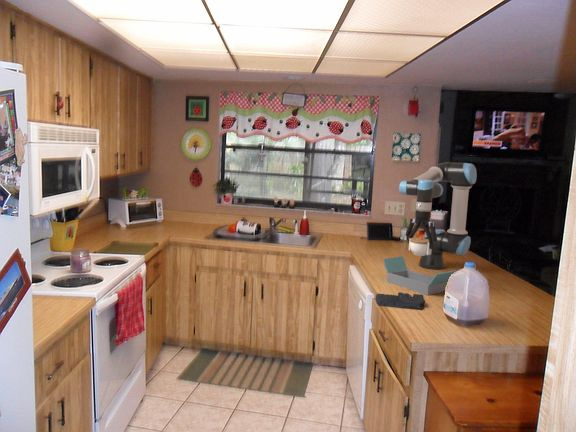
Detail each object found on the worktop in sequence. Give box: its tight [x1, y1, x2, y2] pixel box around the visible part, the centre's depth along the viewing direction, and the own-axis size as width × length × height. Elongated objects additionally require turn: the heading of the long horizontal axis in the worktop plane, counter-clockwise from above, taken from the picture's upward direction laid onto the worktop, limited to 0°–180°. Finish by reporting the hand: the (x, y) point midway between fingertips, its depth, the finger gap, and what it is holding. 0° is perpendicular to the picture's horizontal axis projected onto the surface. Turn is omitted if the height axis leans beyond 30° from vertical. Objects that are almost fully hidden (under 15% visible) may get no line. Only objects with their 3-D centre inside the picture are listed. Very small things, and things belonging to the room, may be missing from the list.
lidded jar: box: [410, 236, 429, 257], centre depth 240 cm, size 11×11×9 cm
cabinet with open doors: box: [382, 255, 457, 296], centre depth 242 cm, size 34×16×12 cm, turn 37°
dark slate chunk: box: [375, 292, 426, 311], centre depth 213 cm, size 15×22×5 cm
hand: (419, 252), depth 241 cm, fingers closed on lidded jar, 11 cm apart
